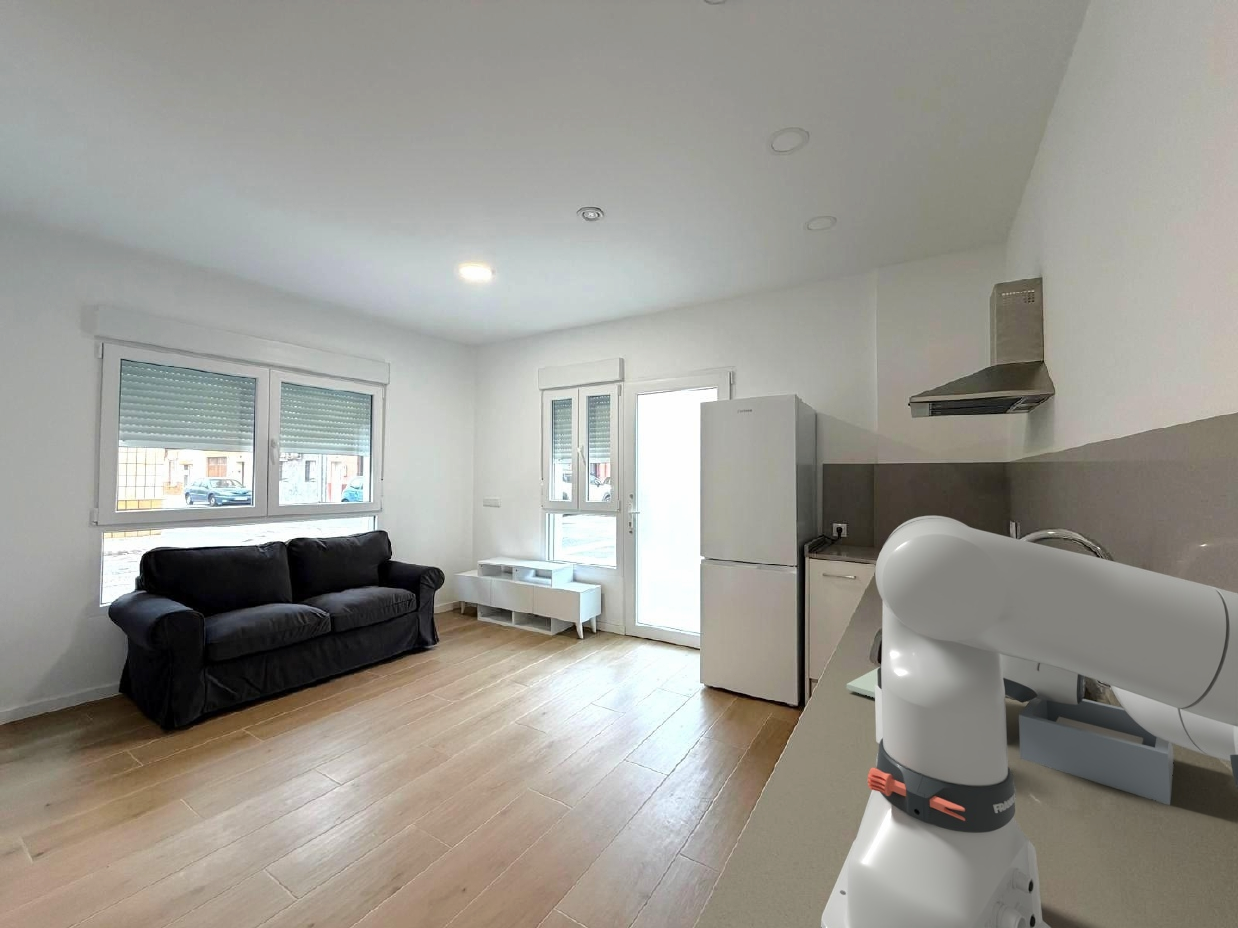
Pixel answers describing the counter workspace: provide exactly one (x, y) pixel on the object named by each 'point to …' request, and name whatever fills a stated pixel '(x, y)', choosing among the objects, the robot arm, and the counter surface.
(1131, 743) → the box
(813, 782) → the counter surface
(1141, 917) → the counter surface
